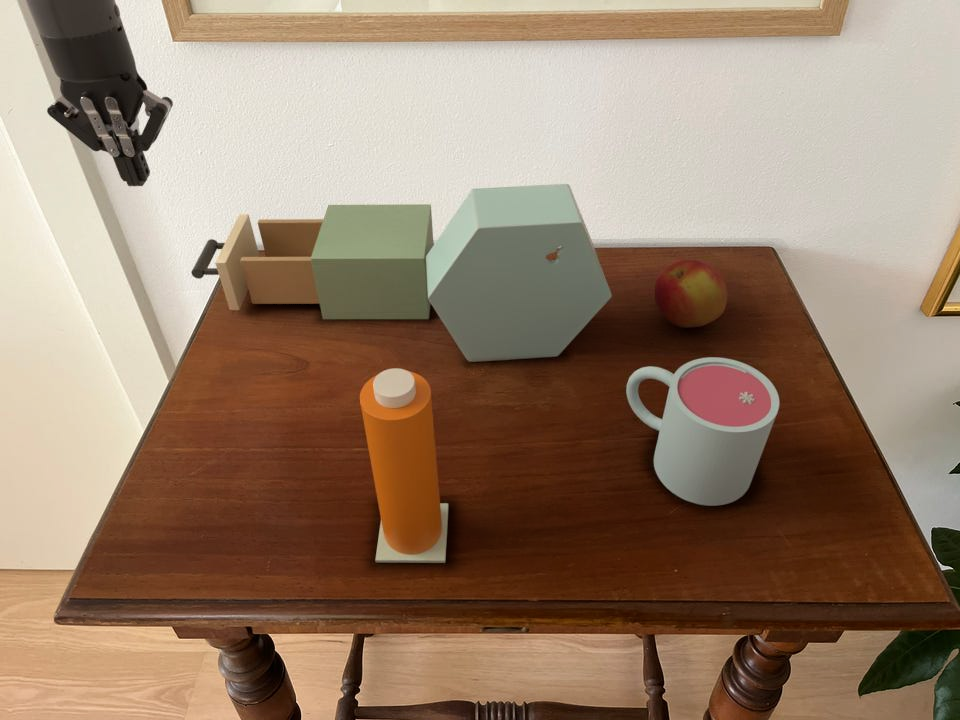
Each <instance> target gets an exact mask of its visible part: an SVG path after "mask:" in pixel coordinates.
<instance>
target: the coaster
mask: <svg viewBox="0 0 960 720" xmlns="http://www.w3.org/2000/svg"><path fill="white" fill-rule="evenodd" d="M440 508H441V520H442V533H441V536H440V538H439V540H438V541H437V543H436V544H435V545H434V546H433V547H431V548H430V549H428V550H427V551H425V552H422V553H418V554H403V553H400V552H397V551H395V550H394V549H392V548H391V547H390V546H389V545H388V544H387V542H386V540H385V538H384V533H383V527H382V522H381V521H380V524H379V531H378V539H377V546H376V554H375V563H383V564H384V563H387V564H388V563H389V564H390V563H391V564H392V563H393V564H395V563H397V564H399V563H401V564H402V563H405V564H406V563H408V564H409V563H410V564H414V563H415V564H424V563H426V564H446V557H447V539H448V538H447V537H448V521H449V503H447V502H444V503H443V502H442V503H441V502H440Z"/></svg>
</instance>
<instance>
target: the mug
mask: <svg viewBox="0 0 960 720" xmlns="http://www.w3.org/2000/svg"><path fill="white" fill-rule="evenodd" d="M651 379H652V380H656V381H659V382H661V383H663V384H665V385H666V386H668V387H669V388H668V393H667V398H666V402H665V405H664V410H663V413H662V414H663V415H662V418H660V417H658V416H656V415H655V414H654V413H651V412H650V410H648V409H647V408H646V405H644V404H643V402H642V400H641V398H640V396H639V386H640V384H641V383H642V382H643V381H645V380H651ZM625 393H626V398H627V402H628V404H629V406H630V408H631V410H632V411H633V413H634V415H636V417H637V418H638V419H639V420H640V421H642V423H644V424H645V425H646V426H648V427H649V428H651V429H654V430H656V431H658V437H657V441H656V446H655V450H654V455H653V467H654V471H655V474H656V476H657V477H658V479H659V481H660V482H661V483H662V484H663V486H664V487H665V488H666V489H667V490H669V491H670V492H671V493H672V494H674V495H675V496H676V497H679V498H680V499H682V500H684V501H686V502H690V503H691V504H692V503H693V504H696V505H700V506H711V507H717V506H722V505H728V504H731V503H733V502H735V501H737V500H739V499H740V498H742V497H743V496H744V495H745V494H746V492H747V491H748V490H749V488H750V486H751V483H752V481H753V478H754V476H755V473H756V470H757V467H758V465H759V462H760V460H761V457H762V455H763V452H764V449H765V446H766V443H767V441H768V438H769V436H770V433H771V431H772V429H773V425H774V423H775V420H776V417H777V415H778V412H779V409H780V397H779V393H778V391H777V389H776V387H775V385H774V384H773V382H772V381H771V380H770V379H769V377H767V376H766V375H765V374H763V373H762V372H761V371H759V370H758V369H756V368H754V367H753V366H751V365H749V364H746V363H744V362H742V361H738V360H735V359H732V358H726V357H713V356H712V357H711V356H710V357H701V358H697V359H692V360H690V361H688V362H686V363H684V364H683V365H681V366H679V367H678V368H677V370H675V372H674V373H673V372H671V371H670V370H667V369H665V368H663V367H659V366H652V365H651V366H643V367H640V368H639V369H637V370H635V371H633V373H631V375H630V376H629V377H628V380H627V383H626V392H625Z"/></svg>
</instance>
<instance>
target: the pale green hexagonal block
mask: <svg viewBox="0 0 960 720" xmlns="http://www.w3.org/2000/svg"><path fill="white" fill-rule="evenodd" d="M555 252H556V254H557V258H555V259H553V260H549V259H547V258H546V257H547V256H548V255H550V254H555ZM426 268H427V289H428V300H429V301H430V303H431V304H430V305H431V307H432V308H433V309H434V311H435V312H436V314H437V316H438V317H439V319H440V321H441V322H442V324H443V325H444V327H445V328H446V330H447V331H448V333H449V334H450V337H452V339H453V340H454V343H455V344H456V345H457V347H458V349H459V350H460V352H461V353H462V355H463V356H464V358H465V359H466V361H467V362H469V363H476V362H493V361H495V362H496V361H510V360H523V359H539V358H555V357H558V356H560V355H561V354H562V353H563V351H564V350H565V349H566V348H567V347H568V346H569V344H571V342H572V341H573V340H574V339H575V338H576V337H577V336H578V335H579V334H580V332H582V330H583V329H585V327H586V326H587V325H588V324H589V323H590V322H591V320H592V319H593V318H594V317H595V316H596V315H597V314H598V313H599V312H600V310H601V309H602V308H604V306H605V305H606V304H607V303H608V302H609V300H610V299H611V298H612V297H613V294H612V292H611V288H610V285H609V284H608V280H607V277H606V275H605V272H604V269H603V266H602V264H601V261H600V258H599V255H598V253H597V249H596V248H595V245H594V242H593V240H592V238H591V235H590V233H589V229H588V227H587V225H586V223H585V220H584V218H583V215H582V213H581V210H580V208H579V206H578V203H577V200H576V198H575V196H574V193H573V190H572V188H571V186H570V185H569V184H568V183H558V184H557V183H556V184H555V183H554V184H539V185H536V184H535V185H517V186H500V187H481V188H472V189H471V190H470V191H469V193H468V194H467V196H466V197H465V198H464V200H463V201H462V202H461V204H460V206H459V207H458V209H457V210H456V212H455V213H454V215H453V216H452V217H451V219H450V221H449V222H448V223H447V224H446V226H445V228H444V229H443V231H442V232H441V234H440V235H439V237H438V238H437V239H436V241H435V243H434V245H433V247H432V248H431V250H430V251H429V253H428V254H427V256H426Z"/></svg>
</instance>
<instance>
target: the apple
mask: <svg viewBox="0 0 960 720" xmlns="http://www.w3.org/2000/svg"><path fill="white" fill-rule="evenodd" d="M653 291H654V292H653V293H654V300H655V304H656V306H657V309H658V310H659V312H660V313H661V315H662V316H663V318H665V319H666V320H667V321H668V322H669V323H670V324H673V325H675V326H677V327H679V328H684V329H685V328H687V329H688V328H698V327H703V326H706V325H709V324H710V323H712V322H714V321H716V320H717V319H718V318H720V317H721V316H722V314H723V313H724V312H725V309H726V306H727V302H728V287H727V284H726V281H725V279H724V277H723V276H722V275H721V273H720V272H719V271H718V270H717V269H716V268H715V267H714V266H712V265H710V264H708V263H706V262H703V261H701V260H696V259H682V260H678V261H675V262H673V263H671V264H670V265H668V267H666V268H665V269H663V271H661V272H660V273H659V275H658V276H657V279H656V281H655V284H654V290H653Z"/></svg>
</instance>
